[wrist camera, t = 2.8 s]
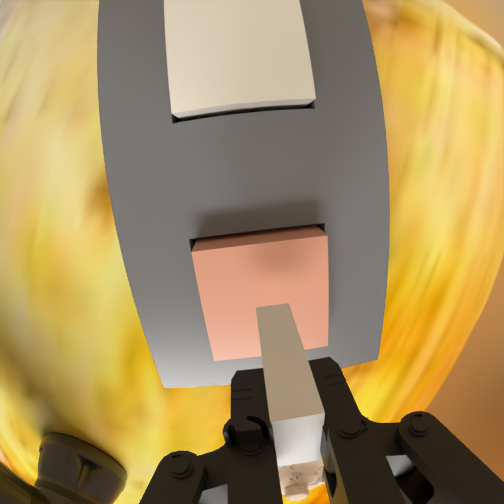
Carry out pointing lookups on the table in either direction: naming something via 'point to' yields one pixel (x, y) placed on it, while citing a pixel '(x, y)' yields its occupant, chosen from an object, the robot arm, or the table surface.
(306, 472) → the teacup with lid
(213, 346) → the terracotta key
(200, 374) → the key box
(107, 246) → the table surface
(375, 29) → the table surface
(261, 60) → the ivory key
